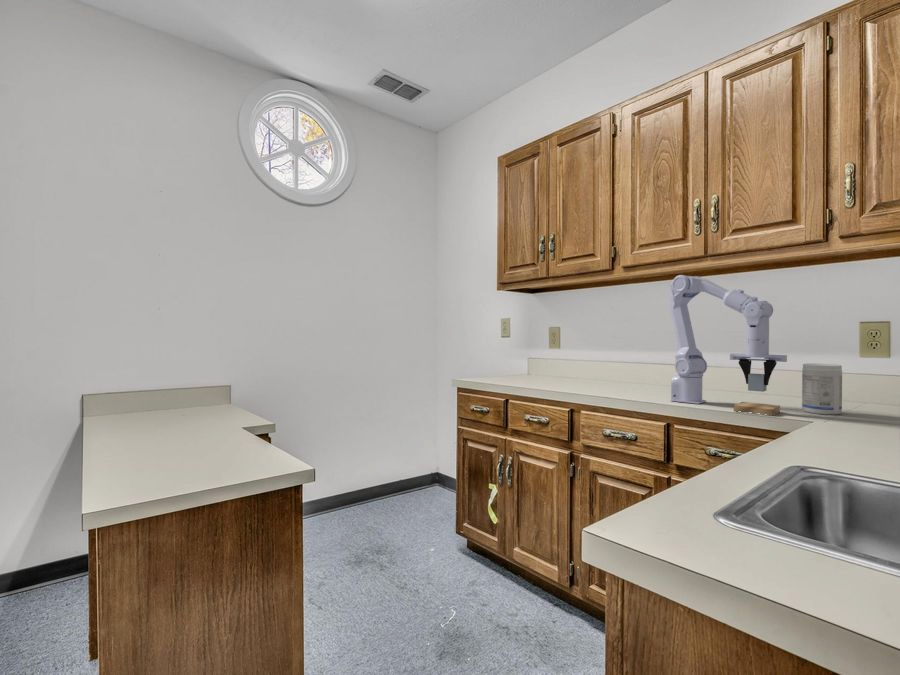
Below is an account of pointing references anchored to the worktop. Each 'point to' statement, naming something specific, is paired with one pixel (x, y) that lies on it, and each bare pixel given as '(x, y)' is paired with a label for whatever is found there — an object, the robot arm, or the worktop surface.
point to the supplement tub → (822, 388)
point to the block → (756, 382)
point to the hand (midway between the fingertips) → (757, 384)
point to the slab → (757, 408)
